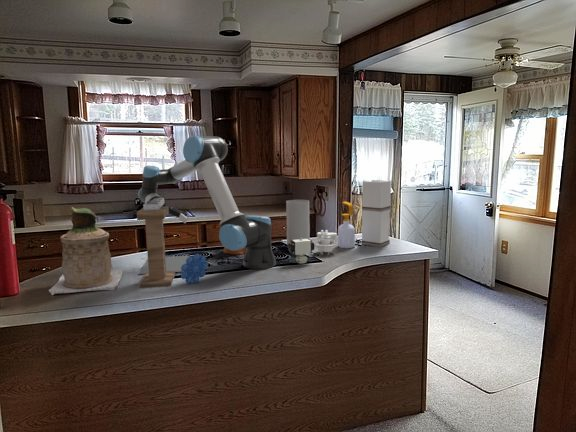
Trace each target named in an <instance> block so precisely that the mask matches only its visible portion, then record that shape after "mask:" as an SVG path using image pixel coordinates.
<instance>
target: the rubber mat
mask: <svg viewBox="0 0 576 432" xmlns="http://www.w3.org/2000/svg"><path fill="white" fill-rule="evenodd" d="M188 257H191V256H190V255H175V256H165V259H166V271H175V272H180V273H182V270H181V267H182V265H183V264H187V263H186V259H187V258H188ZM146 272H149V267H148V259H147V260H146V261H145V263H144V264H143V265H142V267H141V268H140V270H139V272H138V273H137V276H145V274H146Z"/></svg>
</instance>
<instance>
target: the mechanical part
mask: <svg viewBox="0 0 576 432" xmlns="http://www.w3.org/2000/svg"><path fill="white" fill-rule="evenodd" d="M316 234H317V237H316V240H317V241H316V242H314V246H315V247H314V248H318V249H317V250H318V251H319V252H320V254H321V255H324V253H327V255H328V256H329V255H330V254H332V251H333V250H334V248H336V247H337V243H338V232H337V233H336V232H329V230H328V229H325V231H324V230H323V229H321V230H320V231H319V232H316Z"/></svg>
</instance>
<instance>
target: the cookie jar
mask: <svg viewBox="0 0 576 432" xmlns="http://www.w3.org/2000/svg"><path fill="white" fill-rule="evenodd" d="M70 209H71V211H72V213H71V218H70V220H71V221H70V222H71V224H72V228H71V229H69V230H68V232H66V233H65V234H63V235H61V236H60V237H59V239H60V242H61V247H62V251H61V252H62V253H61V254H62V262H61V270H62V274H61V275H60V277H59V279H58V281H57V282H56V283H55V284H54V285H53V286H52V287H50V289H48V292H49V293H50V294H51V296H52V295H56V294H71V293H81V292H91V291H92V292H93V291H113V290H114V291H115V289H116V287H118V286H119V283H120V280H121V279H122V277H123V270H121V269H113V270H112V268H113V265H112V254H111V252H110V247H109V238H110V233H109V232H108V231H106V230H104V229H102V228H99V227H97V226H96V223H97V219H98V216H97V215H96V213H95V212H93V211H92V210H91V209H90V208H88V207H82V208H75V207H70Z"/></svg>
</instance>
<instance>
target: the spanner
mask: <svg viewBox="0 0 576 432" xmlns="http://www.w3.org/2000/svg"><path fill="white" fill-rule="evenodd" d="M164 201H165V198H164V197H161V198H154V199H153V200H152V201H150V202H149V203H143V204H142V206H143V207H144V211H156V210H160V209H161V206H162V205H163V204H164ZM143 207H142V208H143Z"/></svg>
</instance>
